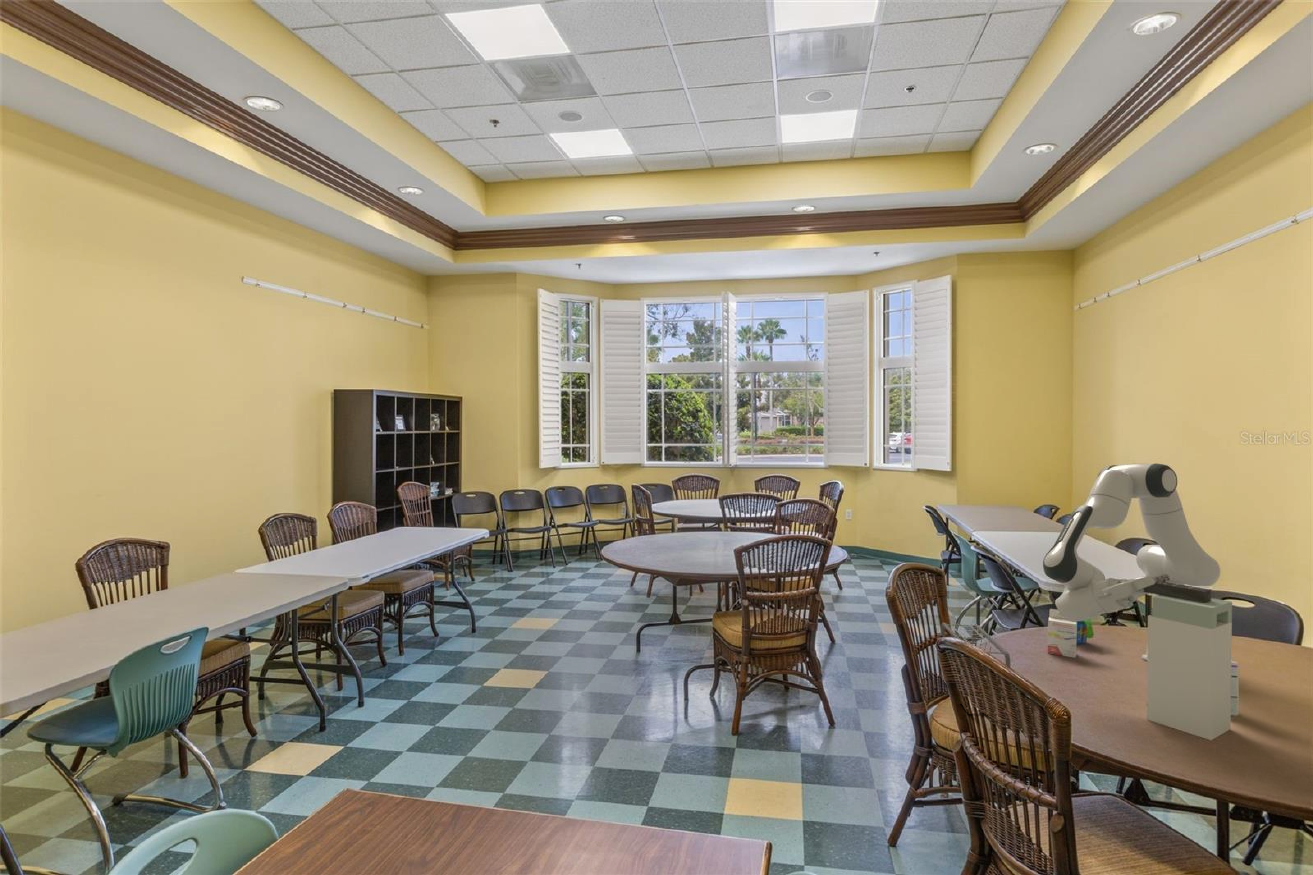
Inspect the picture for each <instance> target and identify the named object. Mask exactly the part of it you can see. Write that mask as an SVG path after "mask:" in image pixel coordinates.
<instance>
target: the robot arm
mask: <svg viewBox="0 0 1313 875" xmlns="http://www.w3.org/2000/svg"><path fill="white" fill-rule="evenodd" d="M1177 486H1178V476H1177V474H1176V472H1175V471H1174V470H1173V468H1172V467H1170V466H1169V465H1167V464H1162V463H1144V462H1143V463H1139V462H1138V463H1130V464H1129V463H1128V464H1120V465H1118V464H1117V465H1115V464H1113V465H1109V466H1105V467H1103V468H1102V469H1101V470H1100V471H1099V472H1098V474H1097V478H1096V479H1095V481H1094V483H1093V485H1092V487H1091V490H1090V492H1089V494H1088V497H1087V499H1086V501H1085V503H1084V504H1083V505H1079V506H1078V507H1076V508H1075V509H1074V510H1073V511H1072V513H1071V515H1069V517H1068V519H1067V521H1066V522H1065V524H1064V526H1063V527H1062V530H1061V532H1060V533H1059V535H1058V537H1057V539H1056V540H1055V542H1054V544H1053V546H1052V547H1051V548H1050V549H1049V551H1048V552H1047V553H1046V554H1045V556H1044V558H1043V561H1042V568H1043V573H1044V574H1045V575H1046V576H1047V577H1048V578H1049V579H1052V580H1054V581H1056V582H1058V583H1060V584H1061V585H1063V586H1064V589H1063V592H1062V594H1061V595H1060V596H1058V598H1056V599H1055V600H1054V602H1055V607H1056V610H1058V611H1059V612H1060V613H1061V614H1062V615H1063V616H1064V617H1065V618H1067V619H1068V620H1070V621H1084V620H1088V619H1091V620H1092V619H1095V618H1097V617H1099V616H1101V615H1103V614H1111V613H1114V612H1117V611H1121V610H1125V609H1127V608H1129V606H1130V605H1132V603H1134V602H1136V601H1138V600H1139V598H1141V597H1143V596H1145V595H1147V594H1149V593H1146V592H1144V589H1143V588H1145V587H1148V586H1151V585H1154V584H1156V581H1155V580H1157V581H1163V582H1169V583H1175V584H1181V585H1186V586H1192V587H1202V588H1203V587H1211V586H1213V585H1215V584H1216V583H1217V581H1219V578H1220V576H1221V568H1220V564H1219V563H1218V561H1217V559H1215V558H1213V557H1212V556H1211V555H1209V553H1207V552H1206V551H1205V550H1204V548H1202V547H1201V544H1199V542H1198V541H1197V540H1196V539H1195V538H1196V537H1194V535H1193V533H1192V531H1191V529H1190V528H1189V524H1188V522H1187V518H1186V514H1185V512H1184V511H1185V510H1184V508H1183V504H1182V501H1181V499H1180V496H1179V493H1178V491H1177ZM1132 499H1138V505H1139V509H1140V513H1141V516H1142V519H1143V520H1142V521H1143V523H1144V527H1145V532H1146V533H1147V535H1148V536H1149V537H1150V538H1151V539H1152V540H1153V541H1154V542H1156V543H1157V544H1148V545H1144V546H1143V547H1141V548H1140V549H1139V550H1138V552H1137V554H1136V557H1135V558H1136V564H1137V567H1138V568H1139V569H1140V570H1141V571H1142V572H1143V574H1145V576H1141V577H1137V578H1132V579H1127V578H1122V579H1119V578H1113V577H1108V578H1106V577H1105V575H1104V573H1103V571H1101V570H1100V569H1099V568H1098V567H1096V566H1095V565H1093V564H1092V563H1090V562H1088V561H1086V560H1085V559H1083V558H1082V557H1080V556H1079V554H1078V551H1077V550H1078V548H1079V546H1080V544H1081V542H1082V540H1083V539H1084V536H1085V534H1086V532H1087V531H1088V530H1089V529H1091V528H1092V529H1097V530H1112V529H1115V528H1117V527H1119V526H1121V525H1123V523H1124V521H1125V519H1126V518H1127V515H1128V513H1129V510H1130V506H1131V503H1132ZM1154 596H1157V594H1153V597H1154ZM1146 645H1147V646H1146V654H1142V656H1141V659H1143V660H1145V661H1147V659H1148V644H1146Z"/></svg>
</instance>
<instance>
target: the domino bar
mask: <svg viewBox="0 0 1313 875" xmlns="http://www.w3.org/2000/svg"><path fill="white" fill-rule="evenodd" d="M1155 581H1156V584H1154V585H1151V586H1148V587H1145V588H1143V589H1144V592H1146V593H1148V594H1153V595H1154V594H1157V595H1163V596H1168V597H1173V598H1179V599H1184V600H1190V601H1195V602H1201V603H1207V602H1210V601H1211V598H1212V589H1210V588H1203V587H1199V586H1190V585H1186V584H1185V585H1181V584H1175V583H1169V582H1163V581H1157V580H1155Z"/></svg>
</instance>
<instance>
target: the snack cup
mask: <svg viewBox="0 0 1313 875" xmlns="http://www.w3.org/2000/svg"><path fill="white" fill-rule="evenodd" d="M1058 615H1062V614H1061V613H1058ZM1091 620H1092V619H1088V620H1084V621H1077V642H1076V645H1077V644H1079V645H1080V644H1081V645H1082V644H1085V643H1087V640H1088V639H1092V638H1093V637H1094V635H1095V634H1094V630H1093V629H1094V628H1093V625H1092V622H1091Z"/></svg>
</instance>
